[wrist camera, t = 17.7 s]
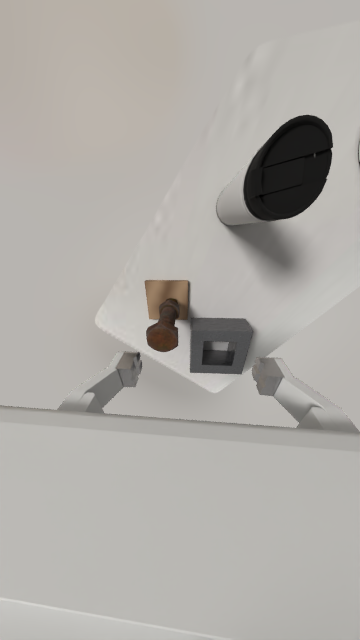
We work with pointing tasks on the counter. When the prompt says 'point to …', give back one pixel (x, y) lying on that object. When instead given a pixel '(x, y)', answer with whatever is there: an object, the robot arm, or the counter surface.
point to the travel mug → (280, 175)
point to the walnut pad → (166, 296)
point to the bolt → (165, 327)
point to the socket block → (219, 330)
